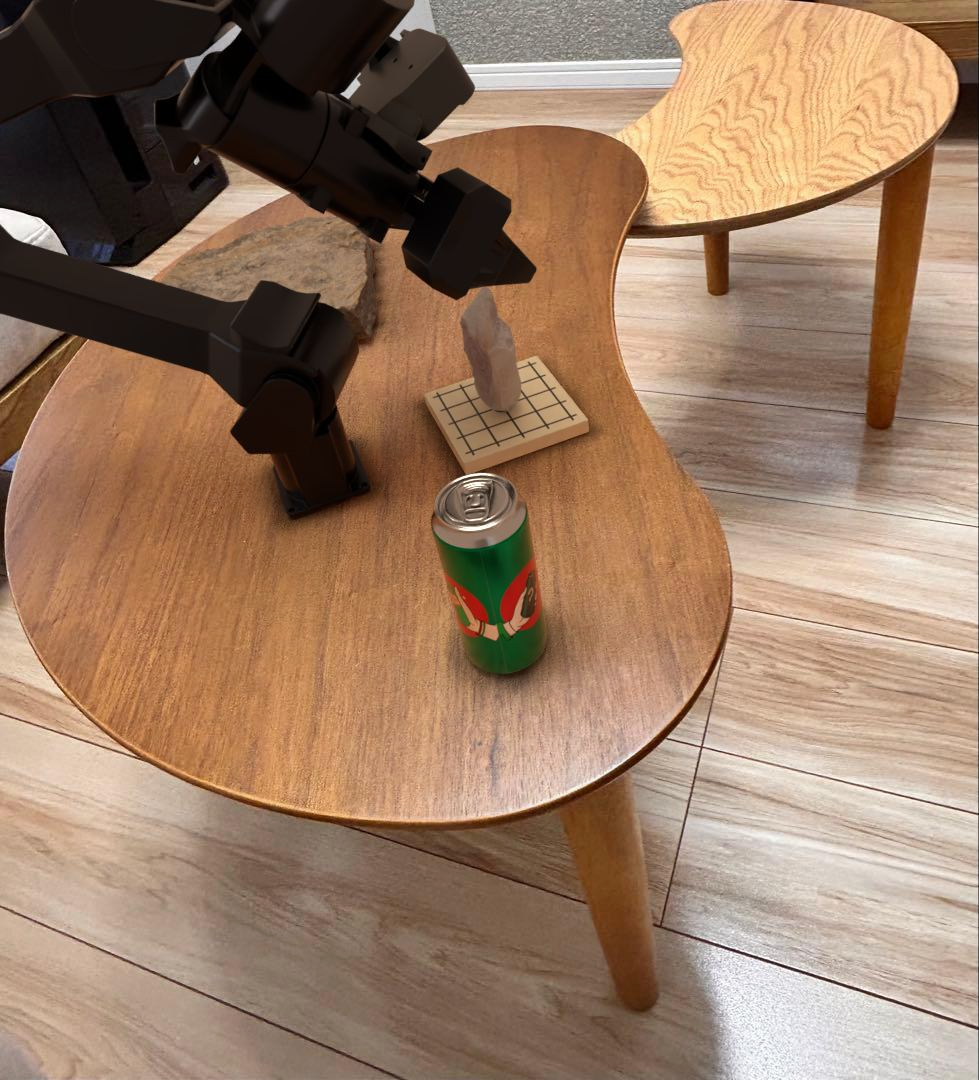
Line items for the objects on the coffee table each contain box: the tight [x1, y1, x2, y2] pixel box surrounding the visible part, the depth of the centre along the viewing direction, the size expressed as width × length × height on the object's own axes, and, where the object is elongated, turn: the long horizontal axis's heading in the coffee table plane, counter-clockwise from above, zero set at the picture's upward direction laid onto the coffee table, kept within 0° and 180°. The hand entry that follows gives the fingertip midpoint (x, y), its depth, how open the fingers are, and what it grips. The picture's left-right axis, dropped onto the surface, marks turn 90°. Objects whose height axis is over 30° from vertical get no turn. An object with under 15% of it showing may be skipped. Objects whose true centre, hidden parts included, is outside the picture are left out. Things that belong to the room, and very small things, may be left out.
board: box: [423, 355, 590, 475], centre depth 68 cm, size 10×10×1 cm
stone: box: [160, 216, 379, 340], centre depth 86 cm, size 21×19×4 cm
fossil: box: [459, 287, 521, 411], centre depth 64 cm, size 6×4×10 cm, turn 21°
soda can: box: [430, 472, 548, 675], centre depth 48 cm, size 5×5×12 cm
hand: (496, 251), depth 59 cm, fingers open, 9 cm apart
